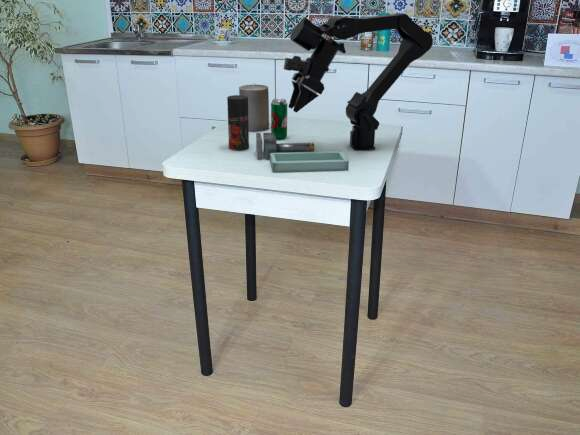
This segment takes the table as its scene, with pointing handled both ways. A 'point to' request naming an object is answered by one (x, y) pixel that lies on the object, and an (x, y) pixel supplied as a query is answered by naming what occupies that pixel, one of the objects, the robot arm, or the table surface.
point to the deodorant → (238, 122)
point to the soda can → (279, 118)
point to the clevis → (266, 145)
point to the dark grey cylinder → (293, 147)
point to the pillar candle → (257, 106)
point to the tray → (308, 161)
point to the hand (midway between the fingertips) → (292, 109)
